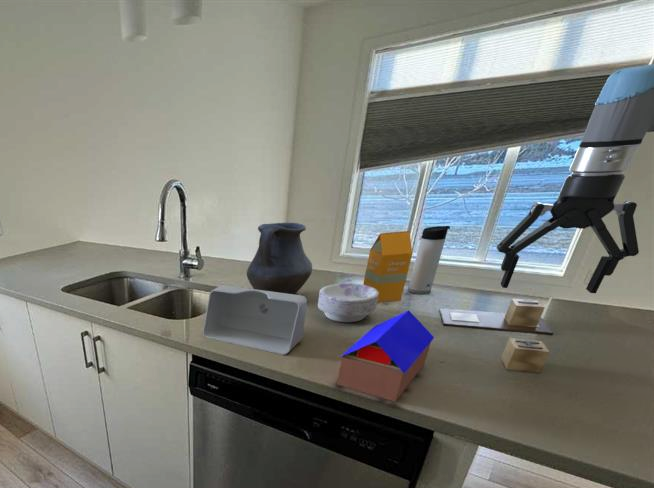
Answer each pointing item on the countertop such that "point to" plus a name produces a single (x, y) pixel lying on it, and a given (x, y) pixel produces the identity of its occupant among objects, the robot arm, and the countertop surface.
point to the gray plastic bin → (255, 318)
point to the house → (386, 357)
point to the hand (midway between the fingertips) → (545, 288)
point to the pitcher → (280, 259)
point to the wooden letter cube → (524, 355)
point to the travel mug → (427, 259)
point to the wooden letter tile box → (524, 312)
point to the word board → (488, 321)
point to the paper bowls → (347, 301)
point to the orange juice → (389, 265)
